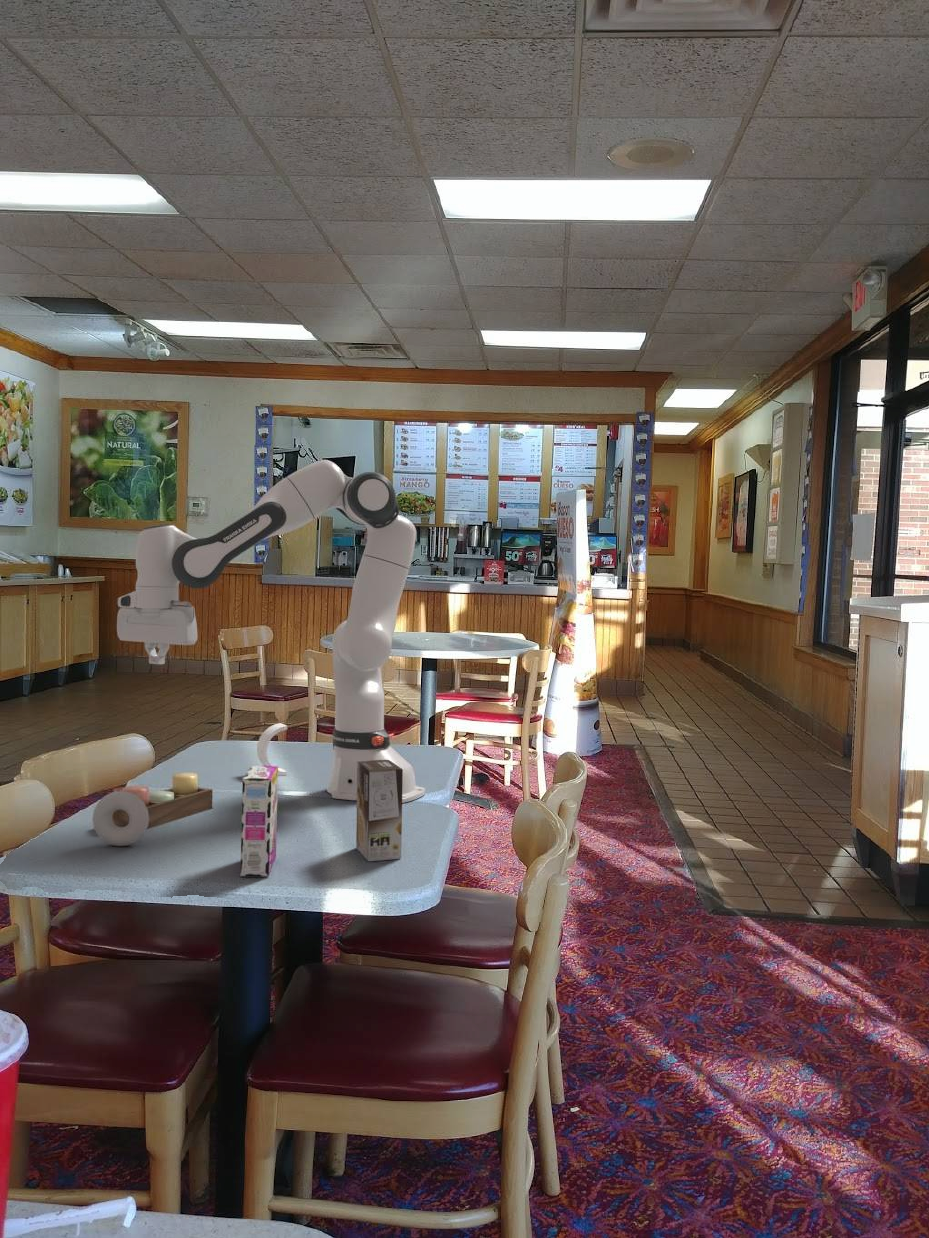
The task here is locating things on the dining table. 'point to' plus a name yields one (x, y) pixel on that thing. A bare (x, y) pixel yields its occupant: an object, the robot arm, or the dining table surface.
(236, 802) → the dining table surface
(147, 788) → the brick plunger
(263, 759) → the headphone stand
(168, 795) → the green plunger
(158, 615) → the robot arm
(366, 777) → the coffee box
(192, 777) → the yellow short cylinder
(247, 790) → the candy bar box
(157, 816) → the wooden compartment tray
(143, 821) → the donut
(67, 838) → the dining table surface
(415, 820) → the dining table surface
